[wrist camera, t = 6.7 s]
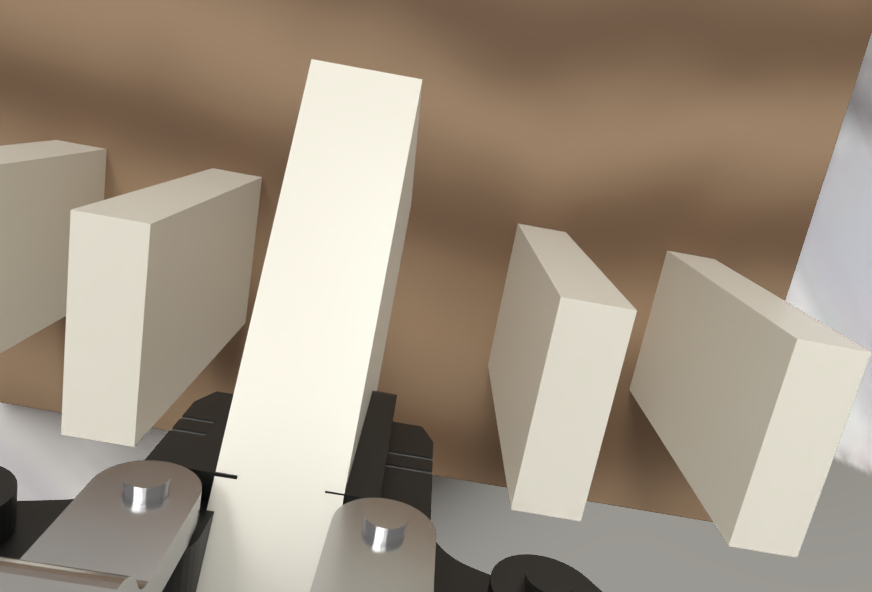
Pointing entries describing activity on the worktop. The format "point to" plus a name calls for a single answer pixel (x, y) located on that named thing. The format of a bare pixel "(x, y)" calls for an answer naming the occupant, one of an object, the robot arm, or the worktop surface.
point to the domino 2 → (153, 298)
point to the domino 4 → (555, 370)
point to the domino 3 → (314, 330)
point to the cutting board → (467, 162)
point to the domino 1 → (40, 229)
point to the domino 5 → (745, 399)
